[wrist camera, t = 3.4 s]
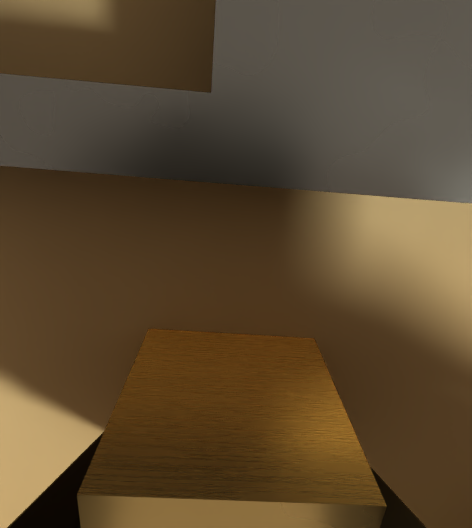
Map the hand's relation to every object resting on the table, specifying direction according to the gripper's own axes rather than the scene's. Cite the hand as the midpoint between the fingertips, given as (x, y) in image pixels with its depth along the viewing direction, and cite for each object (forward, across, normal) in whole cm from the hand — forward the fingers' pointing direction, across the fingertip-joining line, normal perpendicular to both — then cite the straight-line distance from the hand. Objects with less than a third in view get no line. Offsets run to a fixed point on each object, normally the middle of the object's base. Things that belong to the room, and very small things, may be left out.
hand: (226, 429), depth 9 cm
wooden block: (+1, 0, 0) cm, 1 cm away
